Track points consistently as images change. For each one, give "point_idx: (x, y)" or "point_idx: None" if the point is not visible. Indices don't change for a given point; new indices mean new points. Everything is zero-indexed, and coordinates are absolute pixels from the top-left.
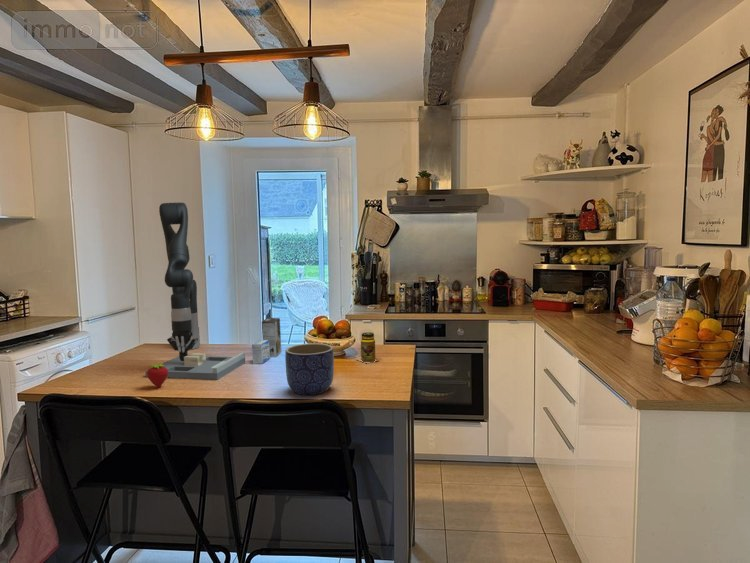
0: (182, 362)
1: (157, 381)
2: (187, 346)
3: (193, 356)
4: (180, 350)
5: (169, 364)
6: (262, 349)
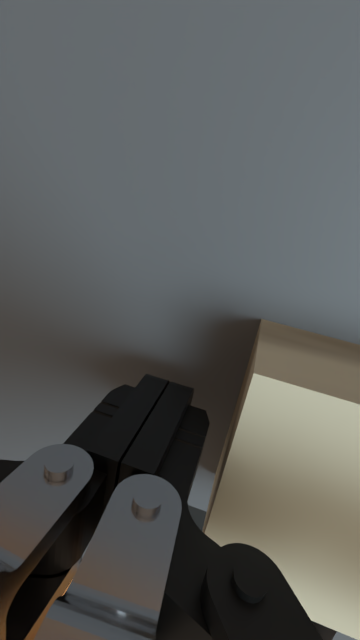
0: (141, 343)
1: None
2: (155, 627)
3: (348, 596)
4: (65, 571)
5: (41, 397)
6: None
